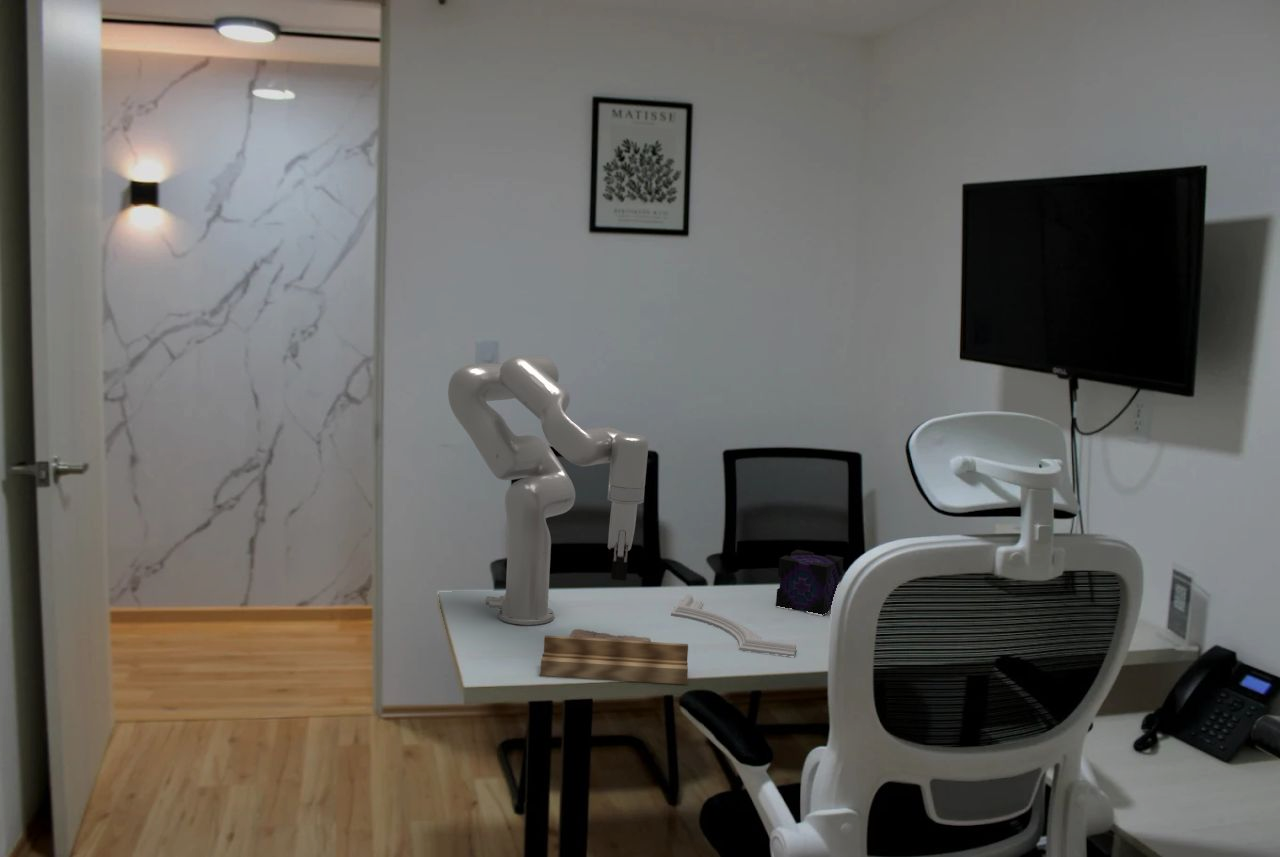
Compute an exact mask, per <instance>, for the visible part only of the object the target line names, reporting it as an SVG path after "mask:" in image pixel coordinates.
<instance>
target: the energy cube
mask: <svg viewBox="0 0 1280 857" xmlns="http://www.w3.org/2000/svg"><path fill="white" fill-rule="evenodd" d="M843 566H844V557H843V556H837V555H832V554H825V555H822V556H821V555H817V554H815V552H812V551H808V550H802V549H795V550H793V551H792V552H790V555H787V554H785V555H784V556H782V557H780V558H779V559H778V572H777V576H778V577H779V588H777V589H776V596H775V598H776V600H775V607H776V606H780V607H785V608H792V609H794V610H795V609H797V610H801V611H804V612H805V611H808V612H813V613H818V614H822V615H823V614H825V613H827V612H828V611H829V612H830V609H831V605H832V601H833V597H834V594H835V591H836V588H837V585H838V584H839V585H840V577H841V576H842V575H843V570H844V569H843V568H844V567H843ZM827 614H828V613H827Z"/></svg>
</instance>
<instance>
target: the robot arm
mask: <svg viewBox="0 0 1280 857" xmlns="http://www.w3.org/2000/svg"><path fill="white" fill-rule="evenodd" d="M559 376H560V375H559V369H558V367H557V365H556V364H555V362H554V361H553V360H551V359H550V358H549V357H547V356H545V355H538V354H537V355H518V356H513V357H511V358H508V359H506V360H505V362H502V363H501V362H499V363H497V362H496V363H475V364H474V363H473V364H468V365H465V366H462V367H460V368H458V369H457V370H456V371H454V373H453V374H452V376H451V377H450V380H449V382H448V390H447V395H448V396H447V397H448V403H449V406H450V409H451V411H452V413H453V415H454V416H455V418H456V419H457V421H458V423H459V424H460V425H461V426H462V428H463V429H464V430H465V431H466V433H467V434H468V436H469V438H470V439H471V441H472V442H473V444H474V446H475V448H476V450H478V452H479V454H480V456H481V457H482V459H483V461H484V462H485V463H486V465H487V467H488V469H489V470H490V471H491V473H492V474H493V476H495V477H496V478H497V479H499V480H501V481H512V480H517V481H515V482H513V483H512V484H511V485H510V486H509V487H508V489H507V490H506V494H505V497H504V506H505V507H504V508H505V512H506V520H507V554H506V555H507V558H506V580H505V593H504V595H500V596H498V597H496V596H491V595H490V596H489V595H486V596H485V605H486V606H488V607H489V608H499V609H498V610H497V617H498V618H499V620H501V621H503V622H504V623H508V624H513V625H521V626H522V625H523V626H532V625H533V626H536V625H544V624H547V623H550V622H551V621H553V620H554V619H555V611H554V610H553V608H550V607H549V592H550V591H549V590H550V571H551V570H550V568H551V553H552V552H551V551H552V550H551V549H552V548H551V547H552V538H551V533H550V530H549V526H548V525H547V521H546V520H547V519H548V518H550V517H556V516H559V515H562V514H565V513H567V512H568V511H569V510H571V509H572V507H574V504H575V501H576V490H575V486H574V484H573V481H572V480H571V478H570V477H569V474H568V473H567V471H566V470H565V468H564V467H563V465H562V463H561V462H560V460H559V459H558V457H557V456H556V454H555V453H554V451H553V450H552V448H553V449H554V450H555V451H556V452H558V454H559V455H561V457H563V458H564V459H565V460H567V461H568V462H570V463H571V464H573V465H576V466H578V467H589V466H594V465H595V466H596V465H602V464H603V465H604V464H609V463H610V464H609V475H608V476H609V477H608V488H607V500H608V501H609V502H611V507H610V518H609V526H608V527H609V528H608V541H607V548H608V549H609V550H611V549H613V550H614V552H613V558H612V564H611V574H610V578H611V580H614V581H626V580H627V576H628V564H629V560H628V553H629V551H630V550H631V549H632V545H633V541H634V535H635V529H636V522H637V512H638V505H641V504H643V503H644V500H645V486H646V478H647V476H646V475H647V467H648V466H647V465H648V454H649V440H648V439H647V437H646V436H644V435H642V434H636V433H629V432H628V433H626V432H624V431H621V430H619V429H617V428H613V427H609V426H608V427H607V426H605V427H595V428H594V427H593V428H587V429H582V428H581V427H580V426H578V425H577V424H576V423H575V422H573V420H571V419H570V417H568V416H567V414H566V413H565V412H566V411H567V409H568V407H569V404H570V401H571V397H570V393H569V392H568V391H567V389H565V388H564V387H563V386H562V385H560V384H559V383H558V382H559ZM512 399H516V400H517V401H518V402H519V403H521V404H522V405H523V406H524V407H525V408H526V409H527V410H528V411H530V412H531V413H532V414H533V415H534V416H535V417H536V418H537V419H539V421H540V423H541V429H542V432H543V434H544V436H545V439H546V441H547V442H548V443H549V444H548V443H547V442H546V441H545V440H543V439H542V438H540V437H539V436H536V435H533V434H532V435H529V434H527V435H516V434H515V433H514V432H513V431H512V430H511V428H510V426H508V424H507V422H506V421H505V419H504V417H503V416H502V415H501V414H500V413H499V412H498V411H497V410H495V409H494V408H493V407H491V406H490V405H489V404H488V403H487V402H493V401H507V400H512ZM551 447H552V448H551Z"/></svg>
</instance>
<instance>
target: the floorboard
mask: <svg viewBox="0 0 1280 857" xmlns="http://www.w3.org/2000/svg"><path fill="white" fill-rule="evenodd" d="M688 652H689V644H688V643H677V642H675V643H674V642H663V641H662V642H658V641H651V642H646V641H630V640H613V639H597V638H580V637H569V636H562V635H561V636H560V635H559V636H558V635H546V634H545V635H544V640H543V653H542V657H541V660H540V676H542V677H544V676H545V677H559V678H561V677H562V678H574V679H577V678H578V679H589V680H591V679H594V680H605V681H606V680H609V681H610V680H611V681H626V682H637V683H638V682H640V683H641V682H642V683H653V684H654V683H658V684H672V685H673V684H676V685H688V674H689V672H688V670H689V667H688V665H689V664H688V656H689V655H688Z"/></svg>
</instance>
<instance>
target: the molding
mask: <svg viewBox="0 0 1280 857" xmlns="http://www.w3.org/2000/svg"><path fill="white" fill-rule="evenodd" d="M704 605H705V604H704V602H703V601H701V600H699V601H698V600H697V601H695V600H694V596H693V595H691V594H687V595H686V596H685V597H684V598H683V599H680V600H679V602H678V603H677V605H676V606H675V607H674V609H673V610H672V611H671V613H670V616H672V617H678V618H684V619H687V618H688V620H693V621H696V622H700V623H703V624H706V623H707V624H706V625H710V626H712V625H713V626H712V627H714V628H718V629H719V628H720V630H721V629H722V630H721V631H723V630H724V632H725V633H727V634H728V635H730V636H731V635H732V636H731V637H733V638H734V639H735V640H737V641H736V642H737V644H738V651H739V650H742V651H741V652H745V651H751V652H750V653H753V652H758V653H757V654H761V653H769V654H778V655H787V656H794V655H796V653H795V652H797V650H796V648H797V644H796V643H790V642H789V643H787V642H783V641H782V642H781V641H774V640H773V641H772V640H767V639H766V640H765V639H762V637H760V635H759V634H757V633H756V632H754V631H753V630H752V629H750V628H749V627H748V626H746V625H744V624H741V623H740V622H737V621H735V620H733V619H731V618H729V617H726V616H723V615H722V614H718V613H716V612H713V611H709V610H704V609H702V608H703V607H704ZM702 606H703V607H702ZM794 657H795V656H794Z"/></svg>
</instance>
